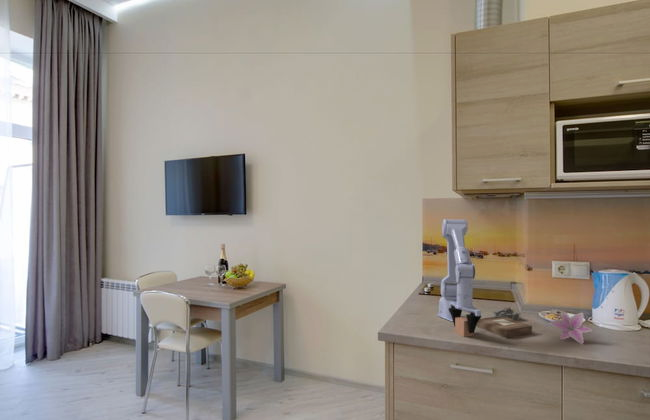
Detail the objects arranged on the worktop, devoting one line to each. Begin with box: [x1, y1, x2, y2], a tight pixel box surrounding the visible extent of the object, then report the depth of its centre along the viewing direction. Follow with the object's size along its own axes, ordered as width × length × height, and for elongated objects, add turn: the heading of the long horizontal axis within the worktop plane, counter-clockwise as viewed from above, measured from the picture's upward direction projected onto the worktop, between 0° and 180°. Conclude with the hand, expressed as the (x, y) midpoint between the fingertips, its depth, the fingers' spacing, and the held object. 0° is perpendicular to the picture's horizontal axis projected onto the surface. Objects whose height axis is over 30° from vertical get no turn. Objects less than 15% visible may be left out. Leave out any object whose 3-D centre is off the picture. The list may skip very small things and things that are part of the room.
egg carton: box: [492, 306, 521, 321], centre depth 159 cm, size 11×8×4 cm
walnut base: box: [476, 316, 533, 339], centre depth 143 cm, size 14×14×3 cm
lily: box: [549, 311, 593, 344], centre depth 135 cm, size 12×12×10 cm
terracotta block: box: [454, 316, 474, 338], centre depth 138 cm, size 5×5×6 cm
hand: (464, 329), depth 138 cm, fingers open, 7 cm apart
